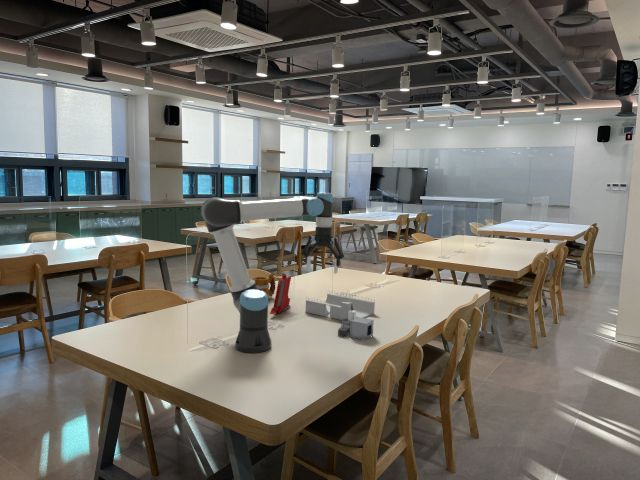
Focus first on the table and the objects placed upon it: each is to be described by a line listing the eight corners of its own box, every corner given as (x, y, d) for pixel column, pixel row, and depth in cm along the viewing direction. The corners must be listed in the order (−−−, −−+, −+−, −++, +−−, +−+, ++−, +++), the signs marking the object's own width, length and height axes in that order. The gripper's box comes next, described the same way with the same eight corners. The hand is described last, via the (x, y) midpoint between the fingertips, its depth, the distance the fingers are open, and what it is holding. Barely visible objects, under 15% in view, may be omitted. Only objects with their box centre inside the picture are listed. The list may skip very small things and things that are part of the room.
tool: (278, 314, 242) (286, 267, 250) (268, 313, 243) (276, 266, 251) (289, 322, 265) (296, 279, 272) (279, 321, 266) (287, 278, 274)
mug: (247, 299, 281) (247, 274, 279) (269, 295, 292) (270, 271, 290) (257, 303, 273) (257, 277, 271) (280, 299, 284) (280, 274, 282)
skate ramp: (374, 314, 256) (375, 294, 255) (347, 325, 234) (348, 303, 233) (328, 304, 274) (329, 286, 272) (299, 314, 252) (300, 294, 251)
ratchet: (351, 337, 216) (351, 320, 215) (332, 334, 219) (333, 317, 218) (362, 325, 234) (363, 310, 233) (345, 323, 237) (346, 307, 236)
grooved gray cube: (365, 340, 212) (349, 336, 216) (372, 336, 219) (357, 332, 223) (366, 323, 211) (350, 320, 216) (373, 320, 218) (358, 317, 222)
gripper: (352, 227, 218) (349, 273, 220) (301, 224, 226) (300, 267, 229) (347, 228, 211) (345, 275, 213) (295, 225, 219) (294, 270, 222)
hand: (321, 271), depth 221 cm, fingers open, 13 cm apart
